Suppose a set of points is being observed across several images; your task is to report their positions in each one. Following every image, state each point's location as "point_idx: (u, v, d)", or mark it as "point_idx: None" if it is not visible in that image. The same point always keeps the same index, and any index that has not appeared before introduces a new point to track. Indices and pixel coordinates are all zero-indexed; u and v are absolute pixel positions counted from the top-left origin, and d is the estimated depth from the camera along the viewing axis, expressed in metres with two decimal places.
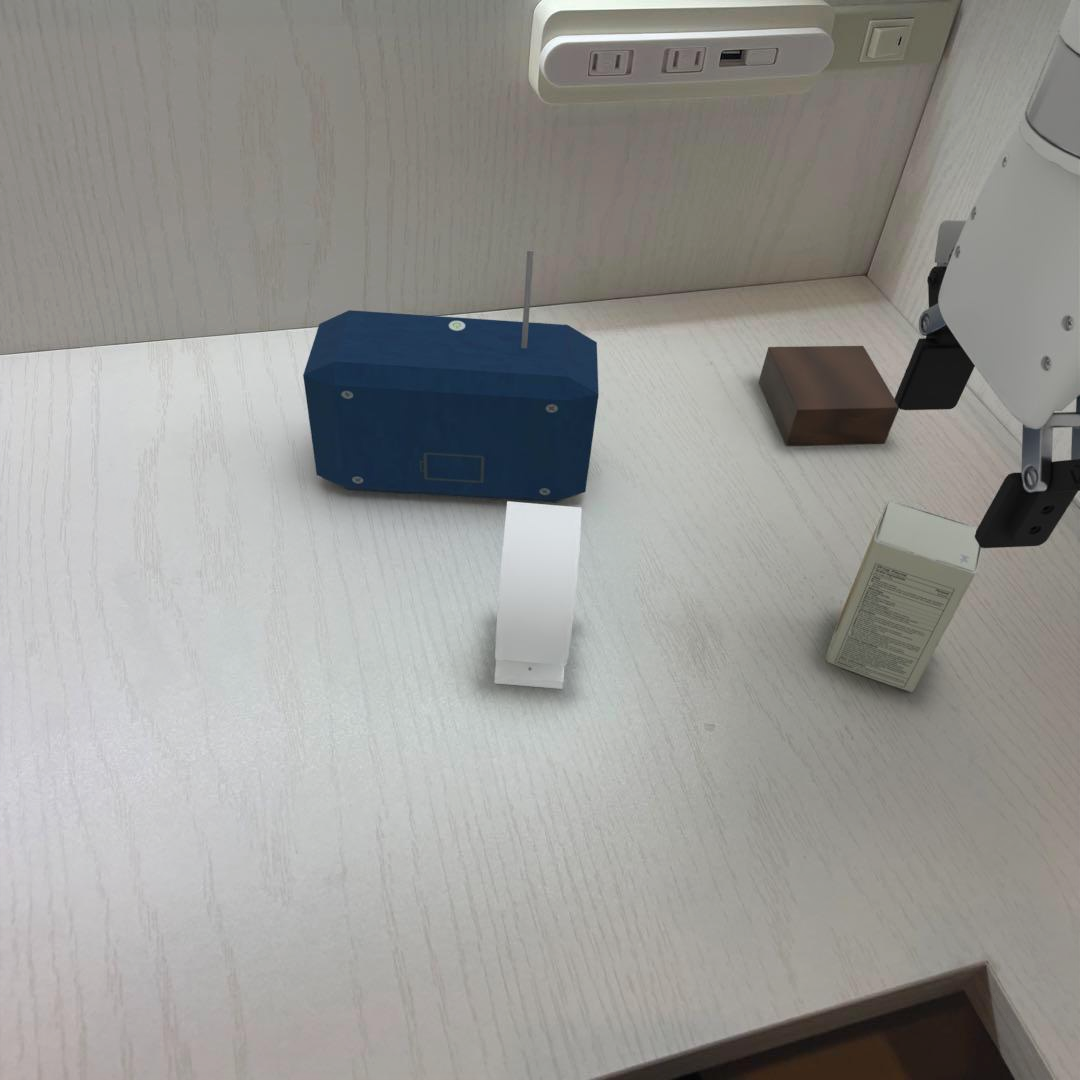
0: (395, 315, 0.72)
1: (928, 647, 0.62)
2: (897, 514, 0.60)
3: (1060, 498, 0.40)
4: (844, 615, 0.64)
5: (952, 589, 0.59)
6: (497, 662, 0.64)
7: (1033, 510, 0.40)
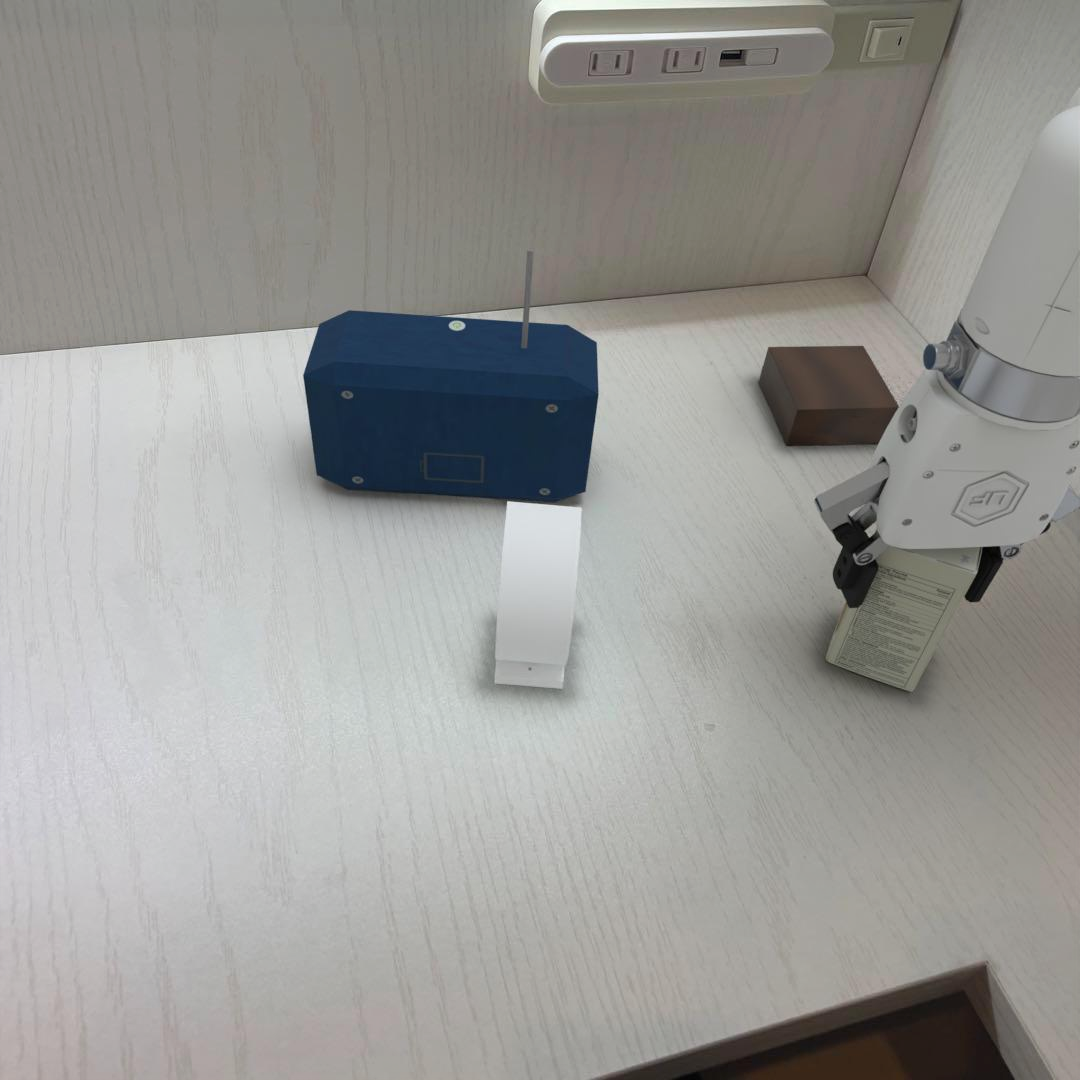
0: (395, 315, 0.72)
1: (929, 647, 0.62)
2: None
3: (849, 556, 0.59)
4: (844, 615, 0.64)
5: (953, 589, 0.59)
6: (497, 662, 0.64)
7: (841, 553, 0.60)
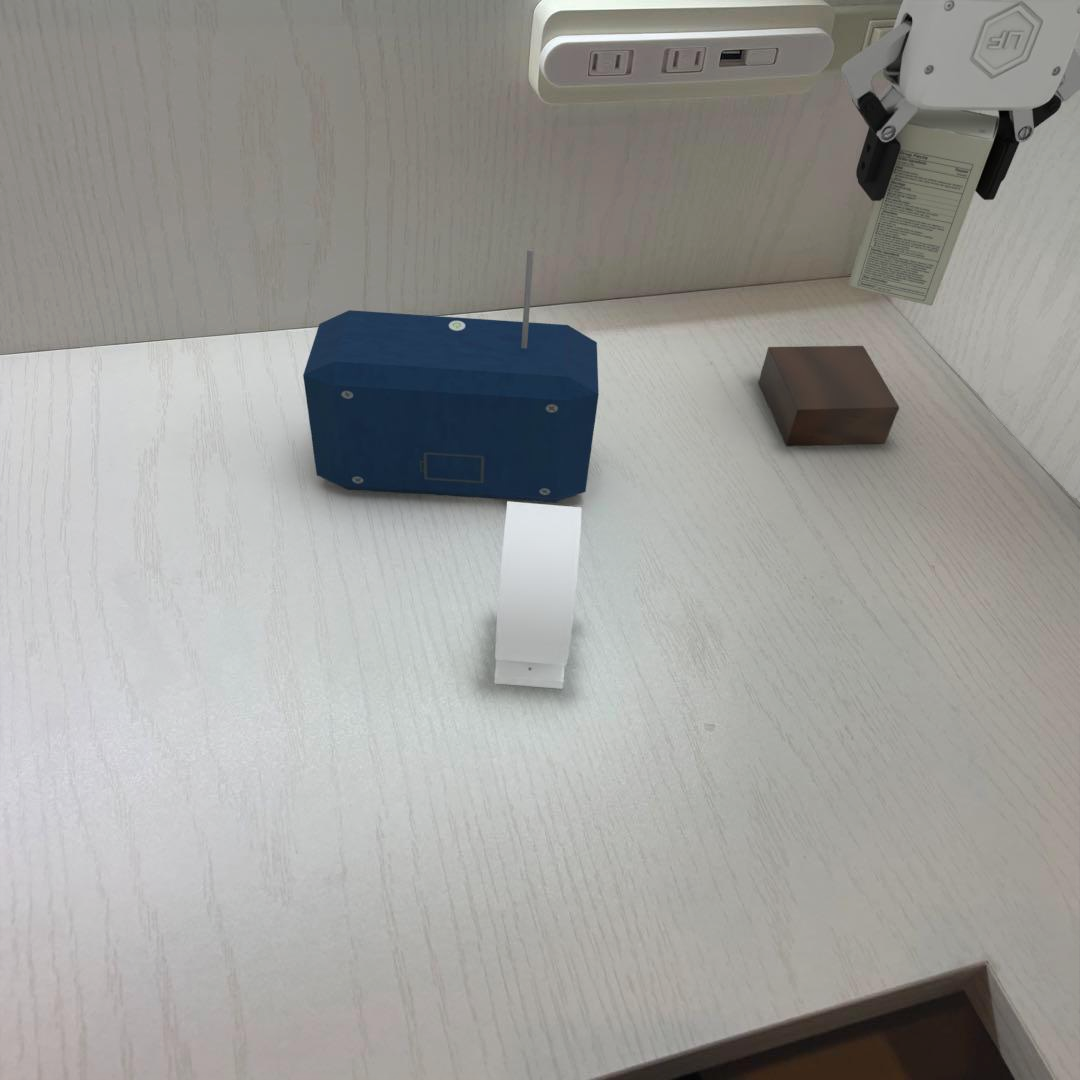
0: (395, 315, 0.72)
1: (948, 244, 0.66)
2: None
3: (873, 140, 0.63)
4: (867, 223, 0.68)
5: (971, 164, 0.62)
6: (497, 662, 0.64)
7: (865, 144, 0.64)
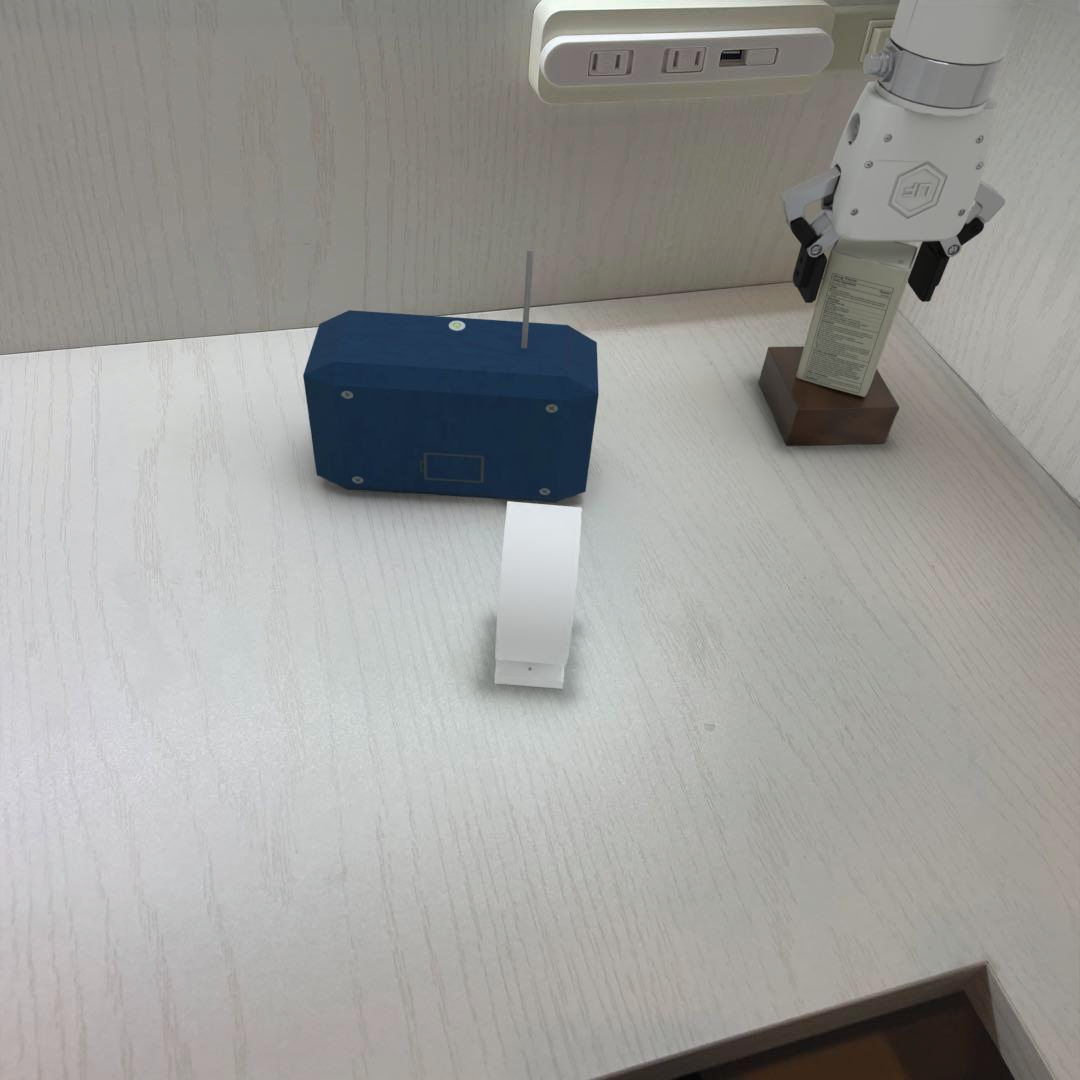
0: (395, 315, 0.72)
1: (876, 349, 0.79)
2: None
3: (804, 254, 0.75)
4: (810, 329, 0.80)
5: (892, 288, 0.75)
6: (497, 662, 0.64)
7: (799, 256, 0.76)
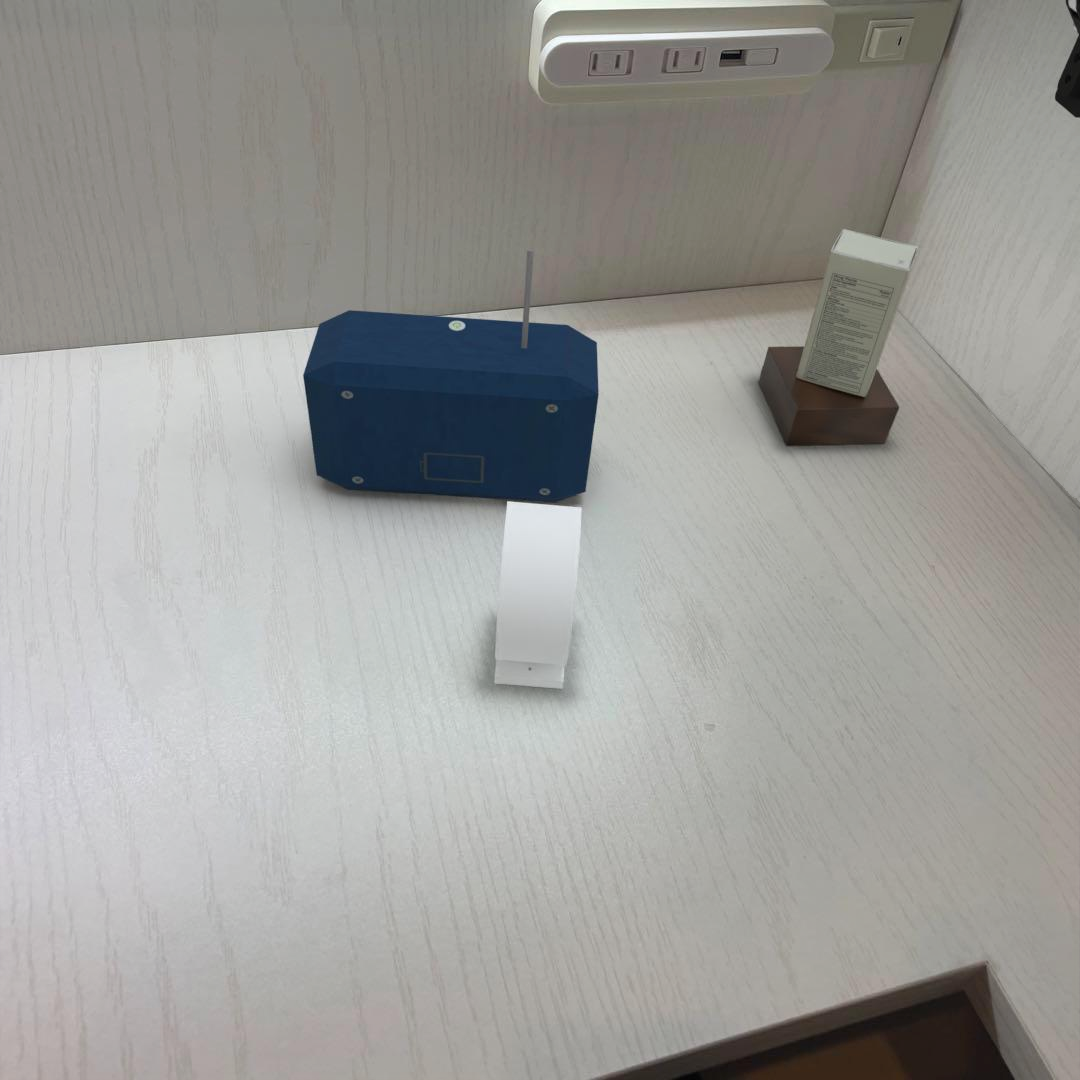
0: (395, 315, 0.72)
1: (876, 349, 0.79)
2: (850, 236, 0.77)
3: None
4: (810, 329, 0.80)
5: (892, 288, 0.75)
6: (497, 662, 0.64)
7: (1072, 54, 0.59)
